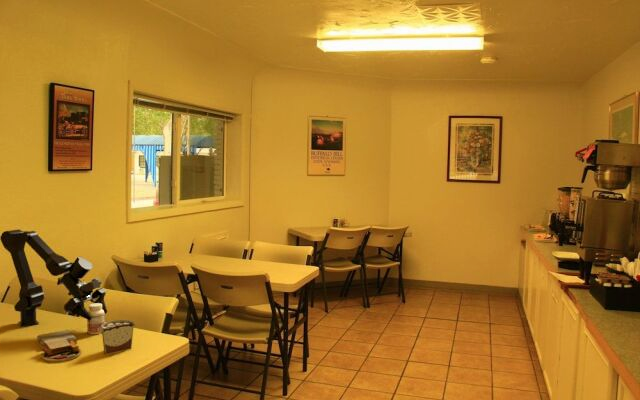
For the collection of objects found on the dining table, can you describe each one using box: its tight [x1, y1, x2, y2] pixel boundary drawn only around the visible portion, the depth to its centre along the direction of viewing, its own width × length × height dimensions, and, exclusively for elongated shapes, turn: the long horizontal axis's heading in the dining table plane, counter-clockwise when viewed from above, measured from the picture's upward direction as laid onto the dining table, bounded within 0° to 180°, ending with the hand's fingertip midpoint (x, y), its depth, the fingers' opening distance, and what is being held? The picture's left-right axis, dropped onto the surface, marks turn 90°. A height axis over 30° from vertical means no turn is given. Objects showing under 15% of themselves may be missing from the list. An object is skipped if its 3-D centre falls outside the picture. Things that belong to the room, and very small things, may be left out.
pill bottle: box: [86, 303, 105, 335], centre depth 206 cm, size 6×6×11 cm
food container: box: [100, 319, 136, 356], centre depth 188 cm, size 12×6×10 cm, turn 135°
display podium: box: [36, 329, 78, 349], centre depth 194 cm, size 11×11×2 cm
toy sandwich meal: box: [41, 338, 82, 363], centre depth 182 cm, size 12×14×5 cm
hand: (98, 316), depth 206 cm, fingers open, 9 cm apart
